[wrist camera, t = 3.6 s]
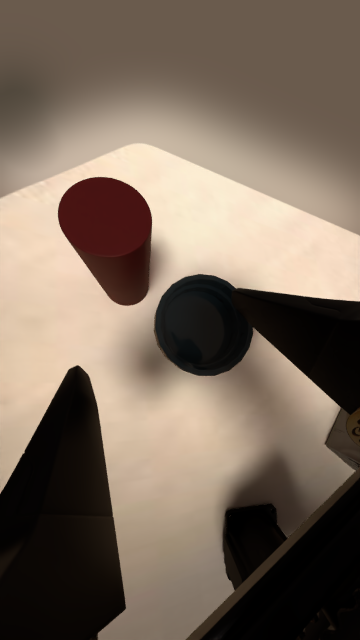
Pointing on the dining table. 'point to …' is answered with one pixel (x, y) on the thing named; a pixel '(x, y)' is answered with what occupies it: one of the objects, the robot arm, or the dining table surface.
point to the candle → (110, 235)
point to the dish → (201, 326)
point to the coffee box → (346, 438)
